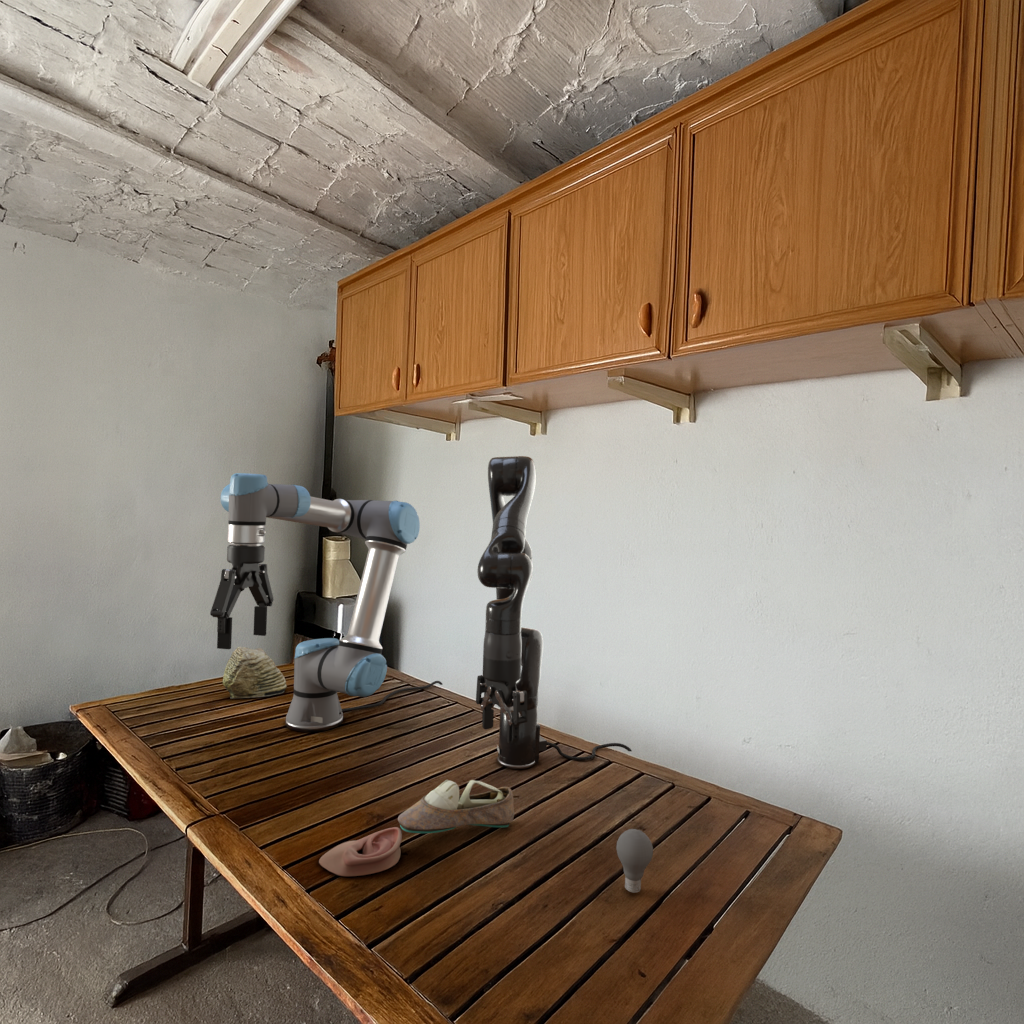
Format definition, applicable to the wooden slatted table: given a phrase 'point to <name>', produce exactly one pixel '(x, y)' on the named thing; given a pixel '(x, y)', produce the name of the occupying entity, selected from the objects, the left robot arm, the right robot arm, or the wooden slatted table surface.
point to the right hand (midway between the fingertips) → (499, 735)
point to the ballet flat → (459, 809)
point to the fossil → (252, 674)
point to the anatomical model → (365, 854)
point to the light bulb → (634, 857)
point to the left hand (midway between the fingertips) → (242, 641)
